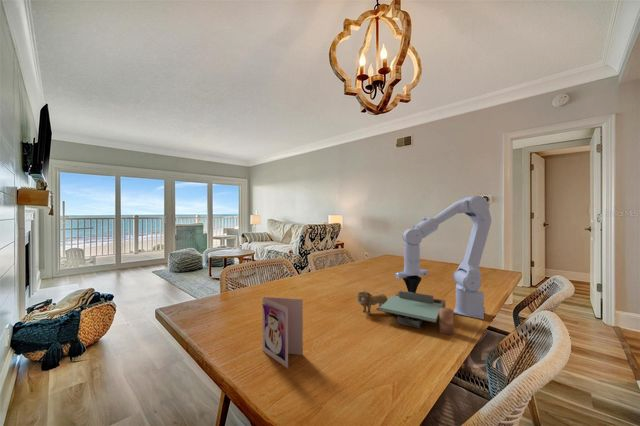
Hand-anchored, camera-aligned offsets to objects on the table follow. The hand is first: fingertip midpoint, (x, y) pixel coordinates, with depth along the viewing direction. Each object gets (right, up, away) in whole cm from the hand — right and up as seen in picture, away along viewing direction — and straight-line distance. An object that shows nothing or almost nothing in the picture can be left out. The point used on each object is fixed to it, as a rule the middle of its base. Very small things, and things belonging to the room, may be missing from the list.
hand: (411, 295), depth 100 cm
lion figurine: (-15, -6, -2) cm, 16 cm away
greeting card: (-45, -7, -30) cm, 55 cm away
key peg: (+5, -6, -17) cm, 19 cm away
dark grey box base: (0, -6, -4) cm, 7 cm away
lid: (-3, -2, -9) cm, 9 cm away
